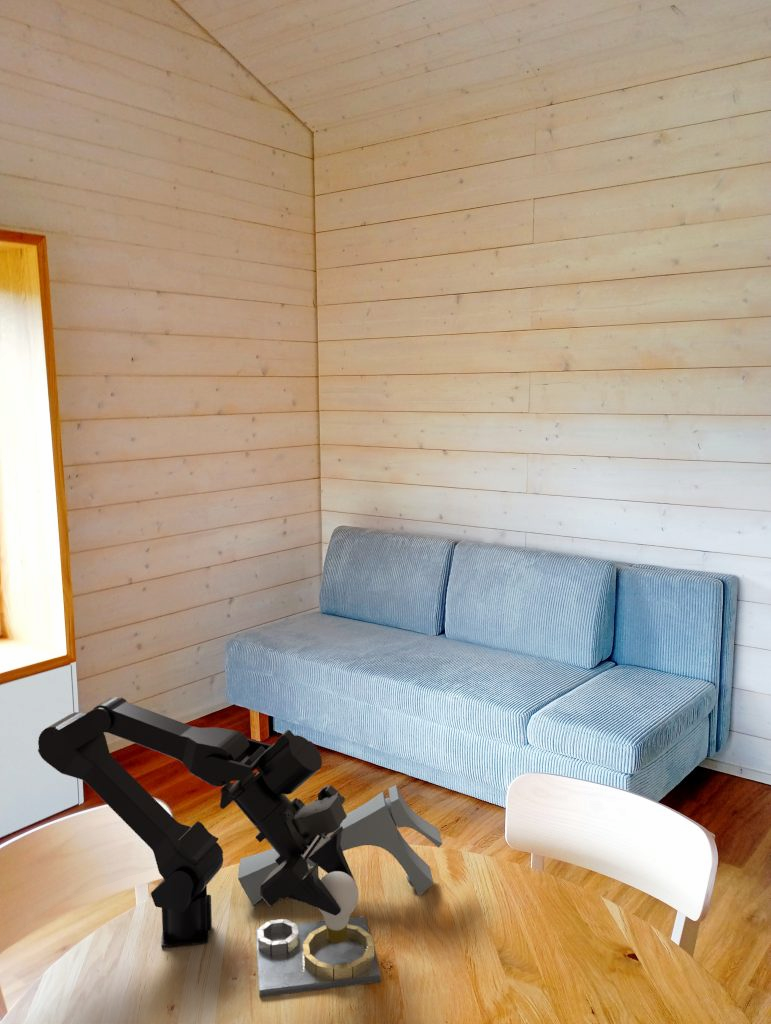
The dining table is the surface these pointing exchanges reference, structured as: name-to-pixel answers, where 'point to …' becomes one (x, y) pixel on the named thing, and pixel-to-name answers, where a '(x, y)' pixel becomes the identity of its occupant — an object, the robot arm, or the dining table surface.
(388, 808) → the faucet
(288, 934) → the plate
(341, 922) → the light bulb
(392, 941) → the dining table surface
